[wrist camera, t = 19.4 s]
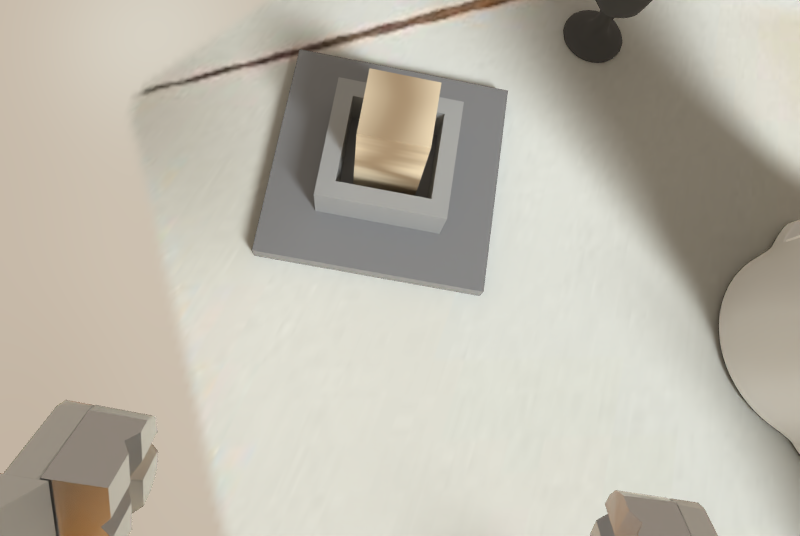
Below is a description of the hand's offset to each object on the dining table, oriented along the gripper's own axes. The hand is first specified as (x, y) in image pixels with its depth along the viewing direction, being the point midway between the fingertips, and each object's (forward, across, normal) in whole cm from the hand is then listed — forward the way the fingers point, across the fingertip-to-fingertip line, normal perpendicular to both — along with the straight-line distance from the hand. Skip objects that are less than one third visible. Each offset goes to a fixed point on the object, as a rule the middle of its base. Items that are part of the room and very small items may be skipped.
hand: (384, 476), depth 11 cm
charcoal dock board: (+34, +1, +7) cm, 35 cm away
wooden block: (+34, +1, +6) cm, 34 cm away
